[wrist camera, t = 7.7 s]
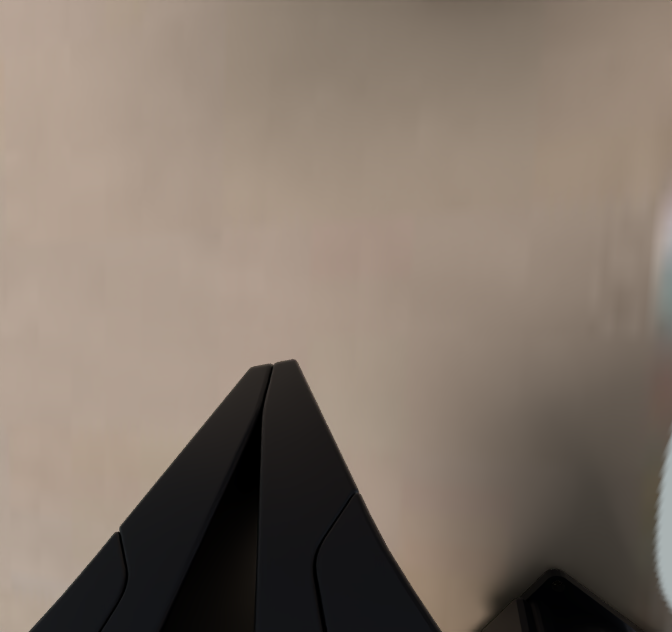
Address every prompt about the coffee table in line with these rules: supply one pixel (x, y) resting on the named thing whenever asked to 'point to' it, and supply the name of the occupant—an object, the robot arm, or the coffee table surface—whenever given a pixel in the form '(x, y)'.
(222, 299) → the coffee table surface
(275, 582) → the robot arm
